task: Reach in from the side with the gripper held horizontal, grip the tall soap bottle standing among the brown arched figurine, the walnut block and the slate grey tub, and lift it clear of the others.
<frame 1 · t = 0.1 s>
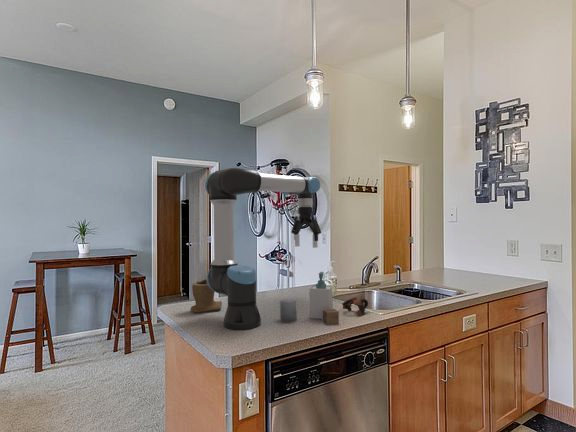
hand: (306, 247, 189), 28 cm above the worktop, tool pointing down, fingers open, 13 cm apart
soap bottle: (321, 316, 157), on the worktop
walnut block: (330, 322, 147), on the worktop
slate grey tub: (288, 319, 152), on the worktop
brown boot: (207, 311, 169), on the worktop
brown arched figurine: (356, 313, 161), on the worktop
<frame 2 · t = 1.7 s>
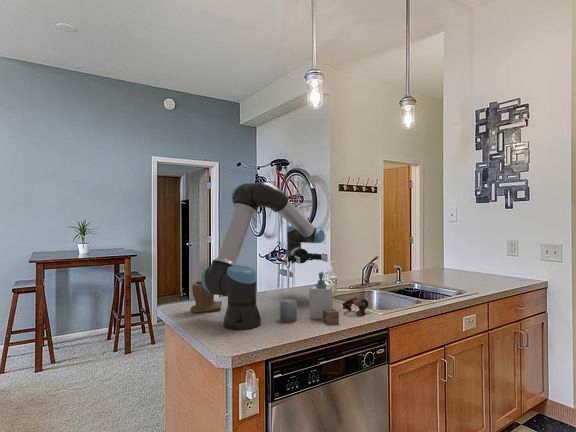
hand: (313, 259, 166), 24 cm above the worktop, tool horizontal, fingers open, 13 cm apart
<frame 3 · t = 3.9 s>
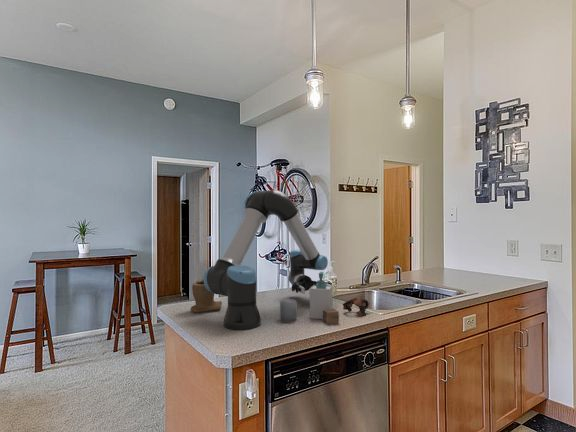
hand: (318, 289, 162), 10 cm above the worktop, tool horizontal, fingers open, 13 cm apart
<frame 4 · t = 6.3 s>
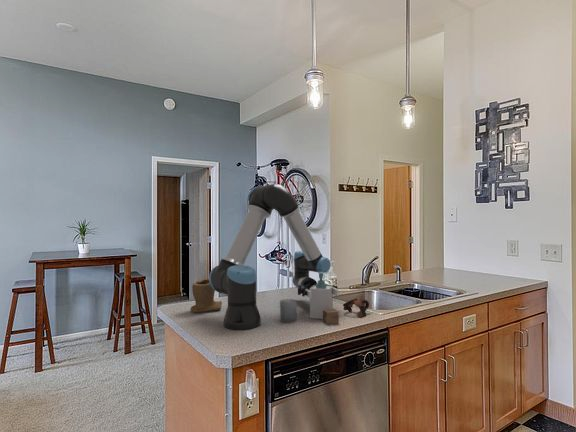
hand: (324, 293, 153), 11 cm above the worktop, tool horizontal, fingers closed on soap bottle, 12 cm apart
soap bottle: (321, 316, 157), on the worktop, touching gripper
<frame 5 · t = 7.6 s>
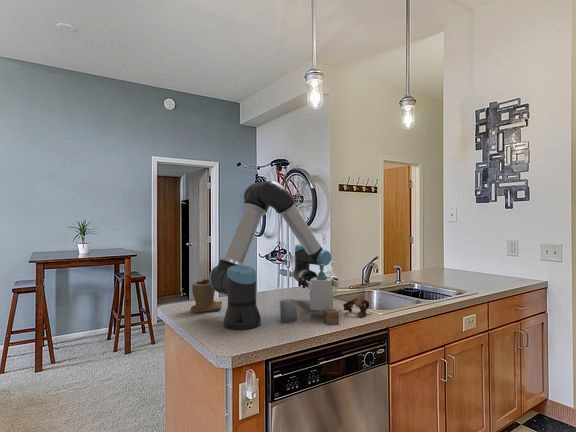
hand: (324, 285, 153), 14 cm above the worktop, tool horizontal, fingers closed on soap bottle, 12 cm apart
soap bottle: (321, 308, 157), point 3 cm above the worktop, touching gripper
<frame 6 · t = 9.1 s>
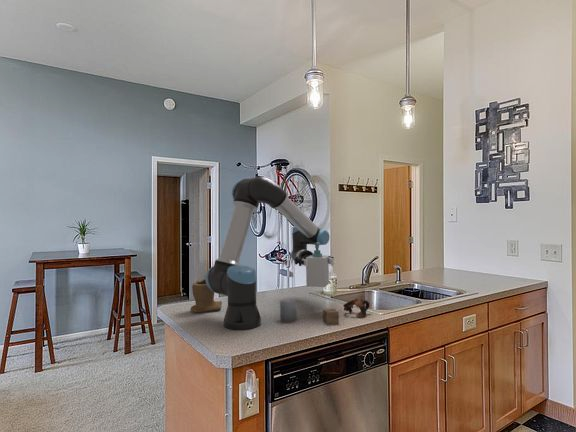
hand: (320, 262, 158), 23 cm above the worktop, tool horizontal, fingers closed on soap bottle, 12 cm apart
soap bottle: (317, 285, 162), point 13 cm above the worktop, touching gripper
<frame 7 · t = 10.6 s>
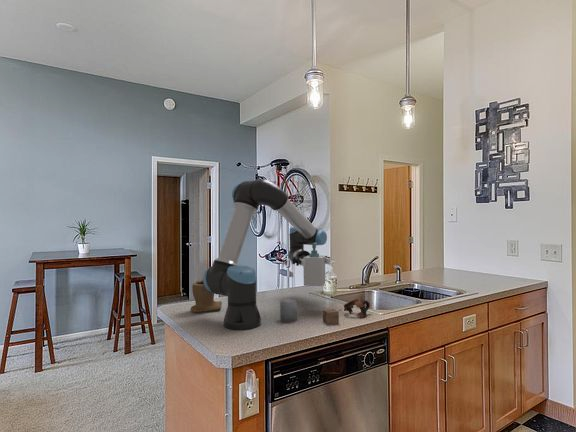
hand: (317, 262, 162), 23 cm above the worktop, tool horizontal, fingers closed on soap bottle, 12 cm apart
soap bottle: (314, 284, 165), point 12 cm above the worktop, touching gripper
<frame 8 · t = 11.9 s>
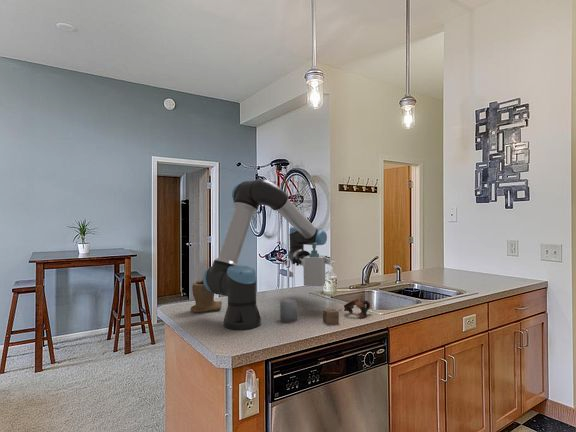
hand: (317, 262, 162), 23 cm above the worktop, tool horizontal, fingers closed on soap bottle, 12 cm apart
soap bottle: (314, 284, 165), point 12 cm above the worktop, touching gripper
at the end: the gripper is holding soap bottle; soap bottle point 12.2 cm above the worktop; walnut block moved 0.1 cm from its start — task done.
